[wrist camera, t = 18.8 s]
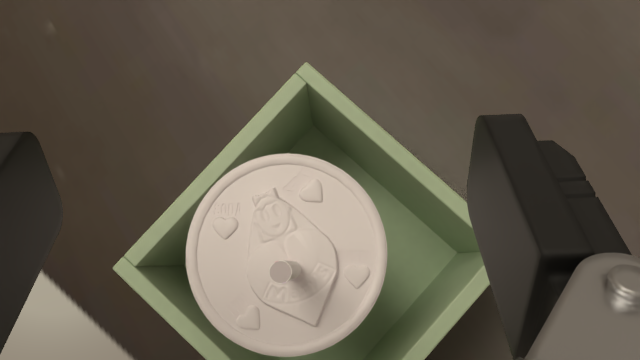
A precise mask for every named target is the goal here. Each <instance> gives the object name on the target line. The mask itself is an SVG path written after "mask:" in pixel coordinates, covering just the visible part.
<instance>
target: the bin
mask: <svg viewBox="0 0 640 360" xmlns="http://www.w3.org/2000/svg"><path fill="white" fill-rule="evenodd" d="M285 153H290V154H301V155H308V156H312V157H316V158H319V159H321V160H324V161H327V162H329V163H331V164H333V165H335V166H337V167H338V168H340V169H342V170H343V171H344V172H346V173H347V174H349V175H350V176H351V177H352V178H353V179H354V180H356V181H357V182H358V183H359V184H360V186H361V187H362V188H363V189H364V190H365V191H366V193H367V194H368V195H369V197H370V198H371V200H372V201H373V203H374V205H375V206H376V209H377V211H378V213H379V215H380V218H381V220H382V223H383V227H384V231H385V235H386V241H387V268H386V274H385V278H384V282H383V286H382V288H381V291H380V294H379V296H378V298H377V300H376V302H375V304H374V306H373V308H372V309H371V311H370V312H369V314H368V315H367V316H366V318H365V319H364V320H363V321H362V323H361V324H360V325H359V326H358V327H357V328H356V329H355V330H354V331H353V332H351V333H350V334H349V335H348V336H346V337H345V338H344V339H342V340H341V341H339V342H337V343H336V344H334V345H332V346H330V347H328V348H326V349H324V350H321V351H318V352H315V353H311V354H307V355H302V356H295V357H278V356H270V355H264V354H260V353H257V352H254V351H251V350H248V349H246V348H244V347H242V346H240V345H238V344H236V343H234V342H233V341H231V340H230V339H228V338H227V337H225V336H224V335H223V334H222V333H220V332H219V331H218V330H217V329H216V328H215V327H214V326H213V325H212V324H211V322H210V321H209V320H208V319H207V318H206V316H205V315H204V313H203V312H202V310H201V309H200V307H199V305H198V303H197V302H196V300H195V297H194V295H193V293H192V290H191V287H190V284H189V280H188V275H187V268H186V243H187V237H188V232H189V228H190V225H191V222H192V219H193V217H194V214H195V212H196V210H197V208H198V206H199V204H200V203H201V201H202V200H203V198H204V197H205V195H206V194H207V193H208V191H209V190H210V189H211V188H212V187H213V186H214V185H215V184H216V182H217V181H219V180H220V179H221V178H222V177H223V176H224V175H226V174H227V173H228V172H230V171H231V170H233V169H234V168H236V167H238V166H240V165H241V164H244V163H246V162H248V161H250V160H253V159H256V158H259V157H263V156H267V155H273V154H285ZM113 270H114V271H115V272H116V273H117V274H118V275H119V276H120V277H121V278H122V279H123V280H124V281H125V282H126V283H128V284H129V285H130V286H131V287H132V288H133V289H134V290H135V291H136V292H137V293H138V294H139V295H140V296H141V297H142V298H143V299H144V300H145V301H146V302H147V303H148V304H149V305H150V306H151V307H152V308H153V309H154V310H155V311H156V312H157V313H159V314H160V315H161V316H162V317H163V318H164V319H165V320H166V321H167V322H168V323H169V324H170V325H171V326H172V327H173V328H174V329H175V330H176V331H177V332H178V333H179V334H180V335H181V336H182V337H183V338H184V339H185V340H186V341H187V342H189V343H190V344H191V345H192V346H193V347H194V348H195V349H196V350H197V351H198V352H199V353H200V354H201V355H202V356H203V357H204V358H205V359H206V360H425V358H426V357H427V356H428V355H429V354H430V353H431V352H432V350H433V349H434V348H435V347H436V346H437V345H438V344H439V342H440V341H441V340H442V339H443V338H444V337H445V335H446V334H447V333H448V332H449V331H450V330H451V329H452V327H453V326H454V325H455V324H456V323H457V322H458V321H459V319H460V318H461V317H462V316H463V315H464V314H465V312H466V311H467V310H468V309H469V308H470V307H471V306H472V304H473V303H474V302H475V301H476V300H477V299H478V297H479V296H480V295H481V294H482V293H483V292H484V291H485V289H486V288H487V287H488V286H489V285H490V282H489V279H488V276H487V272H486V269H485V266H484V263H483V259H482V256H481V253H480V250H479V247H478V243H477V240H476V237H475V234H474V230H473V227H472V224H471V221H470V217H469V213H468V206H467V202H466V201H465V200H464V199H463V198H462V197H460V196H459V195H458V194H457V193H456V192H455V191H454V190H452V189H451V188H450V187H449V186H448V185H447V184H446V183H444V182H443V181H442V180H441V179H440V178H439V177H438V176H436V175H435V174H434V173H433V172H432V171H431V170H430V169H428V168H427V167H426V166H425V165H424V164H423V163H422V162H420V161H419V160H418V159H417V158H416V157H415V156H414V155H412V154H411V153H410V152H409V151H408V150H407V149H406V148H404V147H403V146H402V145H401V144H400V143H399V142H398V141H396V140H395V139H394V138H393V137H392V136H391V135H390V134H389V133H387V132H386V131H385V130H384V129H383V128H382V127H381V126H379V125H378V124H377V123H376V122H375V121H374V120H373V119H371V118H370V117H369V116H368V115H367V114H366V113H365V112H363V111H362V110H361V109H360V108H359V107H358V106H357V105H355V104H354V103H353V102H352V101H351V100H350V99H349V98H347V97H346V96H345V95H344V94H343V93H342V92H341V91H339V90H338V89H337V88H336V87H335V86H334V85H333V84H331V83H330V82H329V81H328V80H327V79H326V78H325V77H323V76H322V75H321V74H320V73H319V72H318V71H317V70H315V69H314V68H313V67H312V66H311V65H310V64H309V63H307V62H305V63H304V64H303V65H302V66H301V67H300V68H299V70H298V71H297V72H296V74H294V75H293V76H292V77H291V78H290V79H289V80H288V81H287V82H286V83H285V84H284V85H283V86H282V87H281V89H280V90H279V91H278V92H277V93H276V94H275V95H274V96H273V97H272V98H271V99H270V100H269V101H268V102H267V103H266V104H265V106H264V107H263V108H262V109H261V110H260V111H259V112H258V113H257V114H256V115H255V116H254V117H253V118H252V119H251V120H250V122H249V123H248V124H247V125H246V126H245V127H244V128H243V129H242V130H241V131H240V132H239V133H238V134H237V135H236V136H235V137H234V139H233V140H232V141H231V142H230V143H229V144H228V145H227V146H226V147H225V148H224V149H223V150H222V151H221V152H220V153H219V155H218V156H217V157H216V158H215V159H214V160H213V161H212V162H211V163H210V164H209V165H208V166H207V167H206V168H205V169H204V171H203V172H202V173H201V174H200V175H199V176H198V177H197V178H196V179H195V180H194V181H193V182H192V183H191V184H190V185H189V186H188V188H187V189H186V190H185V191H184V192H183V193H182V194H181V195H180V196H179V197H178V198H177V199H176V200H175V201H174V202H173V204H172V205H171V206H170V207H169V208H168V209H167V210H166V211H165V212H164V213H163V214H162V215H161V216H160V217H159V218H158V220H157V221H156V222H155V223H154V224H153V225H152V226H151V227H150V228H149V229H148V230H147V231H146V232H145V233H144V234H143V235H142V237H141V238H140V239H139V240H138V241H137V242H136V243H135V244H134V245H133V246H132V247H131V248H130V249H129V250H128V251H127V253H126V254H125V255H124V257H122V258H121V259H120V260H119V261H118V262H117V263H116V264H115V266H114V267H113Z"/></svg>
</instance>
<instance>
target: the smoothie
mask: <svg viewBox="0 0 640 360" xmlns="http://www.w3.org/2000/svg"><path fill="white" fill-rule="evenodd" d="M186 268H187V275H188V280H189V284H190V287H191V290H192V293H193V295H194V297H195V300H196V302H197V303H198V305H199V307H200V309H201V310H202V312H203V313H204V315H205V316H206V318H207V319H208V320H209V321H210V322H211V324H212V325H213V326H214V327H215V328H216V329H217V330H218V331H219V332H220V333H222V334H223V335H224V336H225V337H227V338H228V339H230V340H231V341H233V342H234V343H236V344H238V345H240V346H242V347H244V348H246V349H248V350H251V351H254V352H257V353H260V354H264V355H270V356H278V357H295V356H302V355H307V354H311V353H315V352H318V351H321V350H324V349H326V348H328V347H330V346H332V345H334V344H336V343H337V342H339V341H341V340H342V339H344V338H345V337H346V336H348V335H349V334H350V333H351V332H353V331H354V330H355V329H356V328H357V327H358V326H359V325H360V324H361V323H362V321H363V320H364V319H365V318H366V316H367V315H368V314H369V312H370V311H371V309H372V308H373V306H374V304H375V302H376V300H377V298H378V296H379V294H380V291H381V288H382V286H383V282H384V278H385V274H386V268H387V241H386V235H385V231H384V227H383V223H382V220H381V218H380V215H379V213H378V211H377V209H376V206H375V205H374V203H373V201H372V200H371V198H370V197H369V195H368V194H367V193H366V191H365V190H364V189H363V188H362V187H361V186H360V184H359V183H358V182H357V181H356V180H354V179H353V178H352V177H351V176H350V175H349V174H347V173H346V172H344V171H343V170H342V169H340V168H338V167H337V166H335V165H333V164H331V163H329V162H327V161H324V160H321V159H319V158H316V157H312V156H308V155H301V154H290V153H285V154H273V155H267V156H263V157H259V158H256V159H253V160H250V161H248V162H246V163H244V164H241V165H240V166H238V167H236V168H234V169H233V170H231V171H230V172H228V173H227V174H226V175H224V176H223V177H222V178H221V179H220V180H219V181H217V182H216V184H215V185H214V186H213V187H212V188H211V189H210V190H209V191H208V193H207V194H206V195H205V197H204V198H203V200H202V201H201V203H200V204H199V206H198V208H197V210H196V212H195V214H194V217H193V219H192V222H191V225H190V228H189V232H188V237H187V243H186Z"/></svg>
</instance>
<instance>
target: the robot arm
mask: <svg viewBox="0 0 640 360" xmlns="http://www.w3.org/2000/svg"><path fill="white" fill-rule="evenodd" d="M467 206H468V213H469V217H470V221H471V224H472V227H473V230H474V234H475V237H476V240H477V243H478V247H479V250H480V253H481V256H482V259H483V263H484V266H485V269H486V272H487V276H488V279H489V282H490V285H491V288H492V292H493V295H494V298H495V301H496V305H497V308H498V311H499V314H500V318H501V321H502V324H503V327H504V330H505V334H506V337H507V340H508V343H509V347H510V350H511V353H512V356H513V359H514V360H640V258H639V257H636V256H633V255H631V253H630V251H629V249H628V248H627V246H626V244H625V243H624V241H623V239H622V238H621V236H620V234H619V232H618V231H617V229H616V227H615V226H614V224H613V222H612V220H611V219H610V217H609V215H608V214H607V212H606V210H605V208H604V207H603V205H602V203H601V202H600V200H599V198H598V197H595V191H594V190H593V188H592V186H591V185H590V183H589V181H586V176H585V174H584V173H583V171H582V169H581V168H580V166H579V164H578V162H577V161H576V159H575V157H574V156H572V155H571V154H570V153H568V152H567V151H566V150H564V149H563V148H562V147H561V146H559V145H558V144H557V143H555V142H554V141H553V140H551V141H537V140H536V138H535V136H534V134H533V132H532V130H531V128H530V127H529V125H528V123H527V121H526V119H525V117H524V116H523V115H522V114H506V115H481V116H479V117H478V118H477V121H476V124H475V130H474V138H473V145H472V152H471V160H470V167H469V174H468V182H467ZM62 218H63V209H62V202H61V198H60V195H59V193H58V190H57V187H56V185H55V182H54V180H53V177H52V174H51V172H50V169H49V166H48V164H47V161H46V159H45V156H44V153H43V151H42V148H41V146H40V143H39V141H38V139H37V138H36V136H35V135H34V134H32V133H31V132H11V133H0V353H1V351H2V349H3V347H4V345H5V343H6V341H7V339H8V336H9V335H10V333H11V331H12V328H13V327H14V324H15V322H16V320H17V318H18V316H19V314H20V312H21V310H22V308H23V306H24V304H25V301H26V300H27V297H28V295H29V293H30V291H31V289H32V287H33V285H34V283H35V281H36V279H37V277H38V275H39V273H40V271H41V269H42V267H43V264H44V262H45V260H46V258H47V256H48V254H49V252H50V250H51V248H52V246H53V244H54V242H55V240H56V238H57V236H58V233H59V231H60V229H61V225H62Z"/></svg>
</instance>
